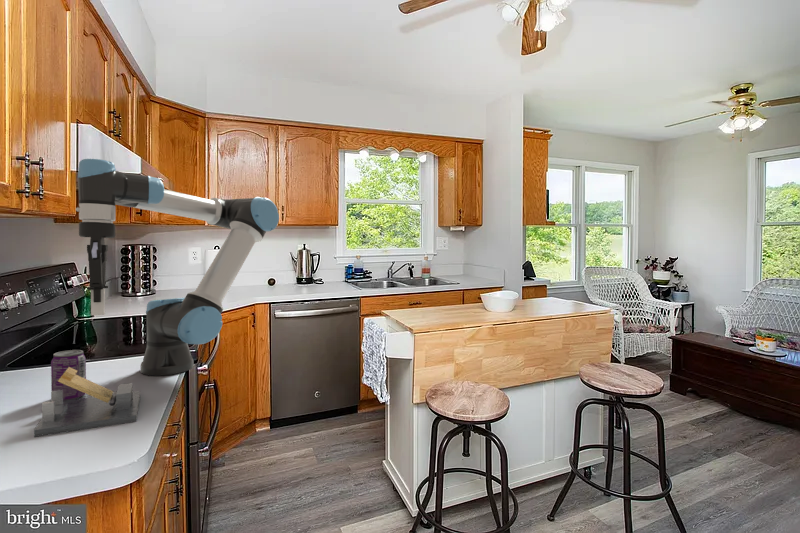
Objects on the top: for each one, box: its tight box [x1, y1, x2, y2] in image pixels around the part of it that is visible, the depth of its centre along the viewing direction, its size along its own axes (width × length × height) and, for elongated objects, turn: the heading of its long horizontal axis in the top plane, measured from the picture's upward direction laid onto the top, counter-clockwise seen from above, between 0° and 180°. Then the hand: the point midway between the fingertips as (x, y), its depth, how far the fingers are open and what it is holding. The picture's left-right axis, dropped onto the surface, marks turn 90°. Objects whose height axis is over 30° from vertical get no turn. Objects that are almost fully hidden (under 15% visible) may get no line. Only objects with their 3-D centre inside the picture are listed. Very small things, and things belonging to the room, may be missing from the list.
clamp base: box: [33, 382, 141, 438], centre depth 100 cm, size 18×18×6 cm
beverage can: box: [50, 349, 87, 401], centre depth 110 cm, size 7×7×12 cm
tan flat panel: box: [58, 367, 117, 406], centre depth 99 cm, size 7×13×2 cm
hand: (98, 314), depth 107 cm, fingers closed
